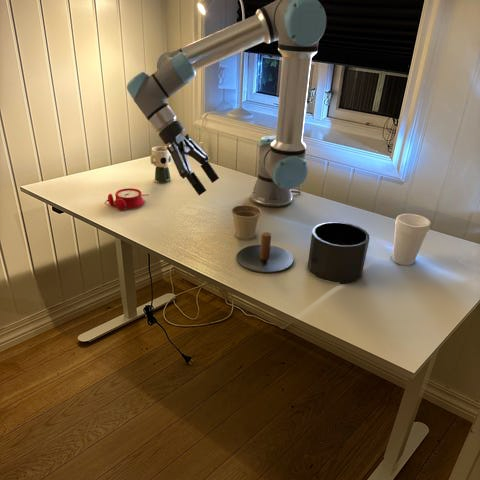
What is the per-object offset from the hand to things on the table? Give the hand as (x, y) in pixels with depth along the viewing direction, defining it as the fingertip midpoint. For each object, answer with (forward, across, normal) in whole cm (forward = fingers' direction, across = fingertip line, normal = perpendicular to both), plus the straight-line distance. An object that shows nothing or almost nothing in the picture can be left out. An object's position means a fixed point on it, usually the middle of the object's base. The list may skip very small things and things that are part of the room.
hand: (209, 186), depth 150 cm
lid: (+25, +14, +8) cm, 30 cm away
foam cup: (+50, 0, +39) cm, 64 cm away
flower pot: (+19, 0, 0) cm, 19 cm away
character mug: (-10, -39, -33) cm, 51 cm away
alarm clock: (-11, -11, -36) cm, 39 cm away
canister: (+38, +13, +23) cm, 47 cm away
